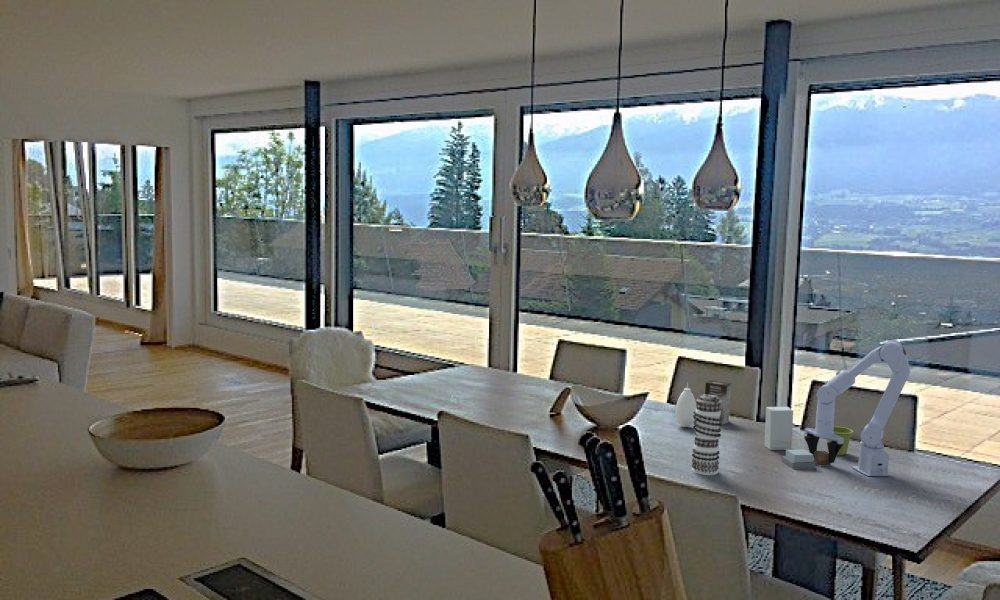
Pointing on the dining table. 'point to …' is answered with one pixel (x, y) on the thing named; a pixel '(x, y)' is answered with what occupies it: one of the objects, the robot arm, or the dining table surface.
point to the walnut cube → (821, 458)
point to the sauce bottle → (686, 408)
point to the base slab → (797, 463)
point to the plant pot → (844, 434)
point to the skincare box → (778, 428)
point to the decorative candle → (706, 435)
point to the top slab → (799, 455)
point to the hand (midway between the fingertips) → (822, 459)
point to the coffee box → (720, 396)
